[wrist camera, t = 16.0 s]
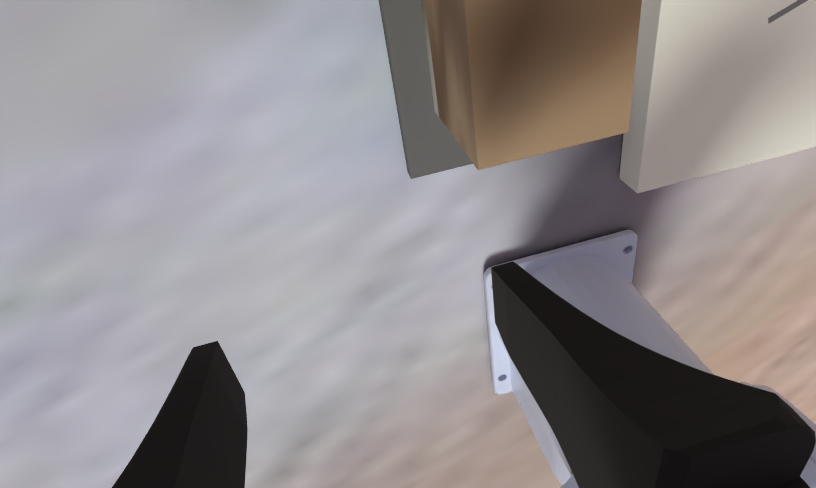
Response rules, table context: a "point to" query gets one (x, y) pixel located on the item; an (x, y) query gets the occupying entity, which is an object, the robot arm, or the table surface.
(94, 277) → the table surface
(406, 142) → the mat
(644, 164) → the board
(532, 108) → the block
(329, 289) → the table surface
